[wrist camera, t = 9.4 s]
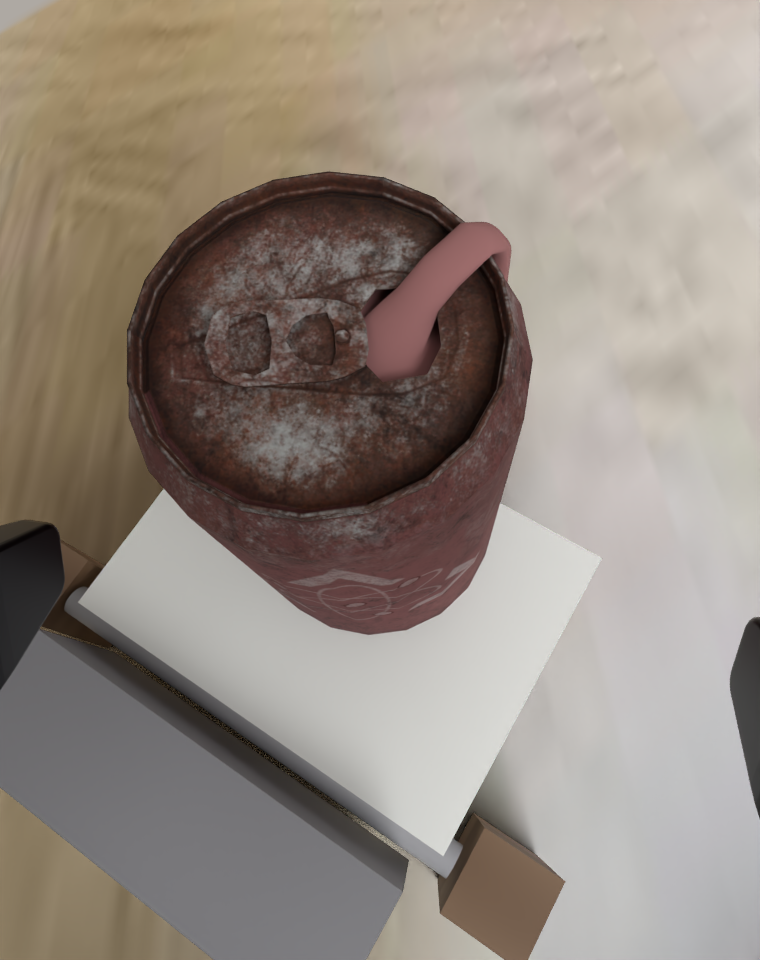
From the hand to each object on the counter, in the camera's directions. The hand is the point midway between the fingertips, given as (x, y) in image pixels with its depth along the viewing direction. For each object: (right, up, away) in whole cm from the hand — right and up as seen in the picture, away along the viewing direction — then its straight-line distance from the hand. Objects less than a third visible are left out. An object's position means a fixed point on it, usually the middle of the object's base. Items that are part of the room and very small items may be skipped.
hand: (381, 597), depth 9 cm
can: (0, -1, +14) cm, 14 cm away
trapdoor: (-2, -4, +11) cm, 12 cm away
